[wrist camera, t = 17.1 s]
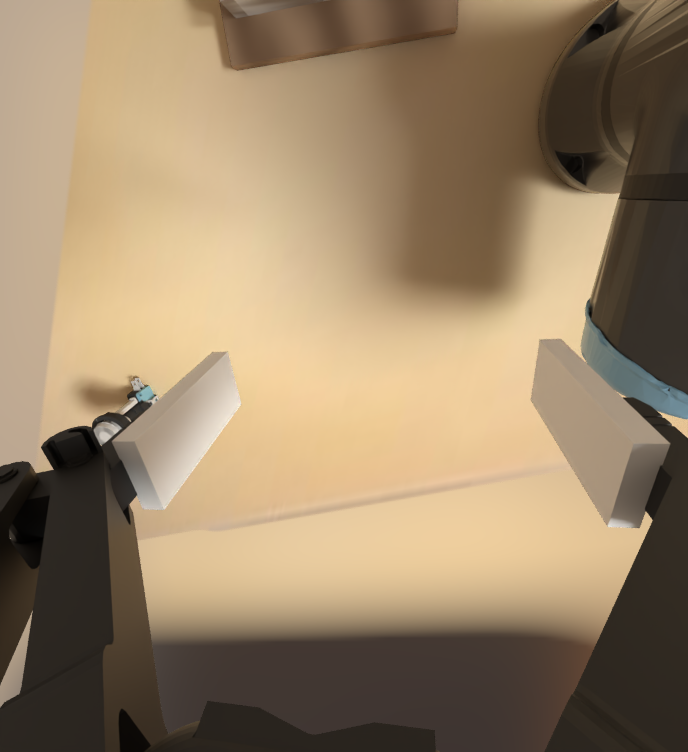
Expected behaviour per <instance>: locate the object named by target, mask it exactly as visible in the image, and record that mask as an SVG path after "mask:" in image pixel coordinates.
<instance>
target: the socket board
mask: <svg viewBox="0 0 688 752" xmlns="http://www.w3.org/2000/svg"><path fill="white" fill-rule="evenodd" d="M219 1H220V7H221V12H222V18H223V23H224V29H225V34H226V39H227V45H228V50H229V56H230V61H231V66H232V67H233V68H235V69H236V70H243V69H249V68H255V67H260V66H266V65H272V64H278V63H284V62H289V61H295V60H301V59H307V58H312V57H318V56H324V55H330V54H336V53H341V52H347V51H353V50H359V49H365V48H370V47H376V46H382V45H388V44H394V43H399V42H405V41H411V40H417V39H423V38H428V37H434V36H440V35H446V34H452V33H455V31H456V29H457V16H458V0H219Z"/></svg>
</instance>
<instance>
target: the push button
mask: <svg viewBox="0 0 688 752" xmlns="http://www.w3.org/2000/svg"><path fill="white" fill-rule="evenodd" d="M137 380H139V382H138V381H137ZM131 383H132V385H133V387H134V388H133V389H134V391H132V392H130V393H129V394H128V395H127V397H128V399H129V402H128V403H126V404H125V405H124V406H123V407H121V408H120V409H119V410H118V411H116V412H115V413H110V412H108V413H106V414H104V415H101V416H99V417H97V418H96V419H95V420H94V421H93V423H92V429H93V431H94V433H95V435H96V437H97V439H98V441H99V443H100V445H103V444H104V443H105V442H107V441H108V440H109V439H110V438H111V437H112V436H113V435H115V434H116V433H117V432H118V431H119V430H120V429H123V427H124V426H125V425H126V424H127V423H128V422H131V420H132V419H133V418H134V417H135V416H136V415H138V414H139V413H140V412H142V411H143V410H145V409H147V408H149V407H151V406H152V405H153V404H154V403H155V402H157V401H158V400H159V398H158V396H154V394H153V392H152V390H151V388H150V386H145V387H144V385H143V384H142V382H141V380H140V378H135V381H131ZM133 383H135V384H136V385H134V384H133ZM156 399H157V400H156ZM104 420H105V421H104Z"/></svg>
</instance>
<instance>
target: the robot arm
mask: <svg viewBox="0 0 688 752" xmlns="http://www.w3.org/2000/svg"><path fill="white" fill-rule="evenodd" d="M539 138H540V144H541V148H542V151H543V154H544V157H545V159H546V161H547V163H548V165H549V166H550V168H551V169H552V171H553V172H554V173H555V174H556V175H557V176H558V177H559V178H560V179H561V180H562V181H564V182H565V183H566V184H568V185H570V186H572V187H574V188H576V189H578V190H581V191H585V192H590V193H604V194H615V193H620V196H619V198H618V201H617V205H616V208H615V212H614V215H613V219H612V223H611V226H610V230H609V233H608V237H607V240H606V244H605V248H604V251H603V255H602V258H601V262H600V266H599V269H598V273H597V276H596V280H595V283H594V287H593V291H592V294H591V298H590V299H589V300H588V301H587V304H586V307H585V316H586V321H585V326H584V331H583V335H582V340H581V352H582V355H583V357H584V359H585V360H586V362H587V363H586V362H584V361H583V360H582V359H581V358H580V357H579V356H578V355H577V354H576V353H575V352H574V351H573V350H572V349H571V348H570V347H569V346H568V345H567V344H566V343H565V342H564V341H563V340H561V339H544V340H540V341H539V348H538V355H537V361H536V368H535V375H534V382H533V388H532V395H531V401H532V403H533V405H534V406H535V408H536V410H537V411H538V413H539V415H540V416H541V418H542V419H543V421H544V423H545V424H546V426H547V428H548V429H549V431H550V433H551V434H552V436H553V438H554V439H555V441H556V443H557V444H558V446H559V447H560V449H561V451H562V452H563V454H564V456H565V457H566V459H567V461H568V462H569V464H570V466H571V467H572V469H573V471H574V472H575V474H576V475H577V477H578V479H579V480H580V482H581V484H582V485H583V487H584V489H585V490H586V492H587V494H588V495H589V497H590V499H591V500H592V502H593V504H594V505H595V507H596V508H597V510H598V512H599V513H600V515H601V517H602V518H603V520H604V522H605V523H606V525H607V526H608V527H627V528H640V525H641V523H642V520H643V517H644V515H645V512H647V513H648V514H649V516H650V517H651V518H652V520H653V521H652V523H651V526H650V528H649V530H648V532H647V534H646V537H645V539H644V541H643V543H642V545H641V548H640V550H639V552H638V554H637V556H636V559H635V561H634V563H633V565H632V567H631V569H630V572H629V574H628V576H627V578H626V580H625V583H624V585H623V587H622V589H621V591H620V593H619V596H618V598H617V600H616V602H615V604H614V607H613V609H612V611H611V613H610V615H609V617H608V620H607V622H606V624H605V626H604V628H603V631H602V633H601V635H600V637H599V639H598V641H597V644H596V646H595V648H594V650H593V652H592V655H591V657H590V659H589V661H588V663H587V666H586V668H585V670H584V672H583V674H582V676H581V679H580V681H579V683H578V685H577V687H576V689H575V691H574V693H573V694H572V695H571V697H570V699H569V701H568V703H567V705H566V707H565V709H564V711H563V713H562V715H561V717H560V719H559V722H558V724H557V726H556V728H555V730H554V732H553V735H552V737H551V739H550V741H549V743H548V745H547V748H546V750H545V752H688V438H687V437H686V436H685V435H683V434H682V433H681V432H680V431H679V430H678V429H677V428H675V427H674V426H672V424H671V423H670V422H669V421H668V420H666V419H665V418H662V415H661V414H660V413H658V412H657V411H659V412H662V413H665V414H668V415H672V416H675V417H679V418H682V419H688V0H615V1H613V2H612V3H610V4H609V5H608V6H606V7H605V8H604V9H603V10H602V11H600V12H599V13H598V14H597V15H596V16H595V17H594V18H592V19H591V20H590V21H589V22H588V23H587V24H586V25H585V26H584V27H583V28H582V29H581V30H580V31H579V32H578V33H577V34H576V35H575V36H574V38H573V39H572V40H571V41H570V43H569V44H568V45H567V46H566V48H565V49H564V51H563V52H562V54H561V55H560V57H559V59H558V60H557V62H556V64H555V66H554V68H553V70H552V72H551V74H550V76H549V78H548V81H547V83H546V86H545V89H544V93H543V96H542V100H541V105H540V111H539ZM616 391H617V392H618V393H620V394H622V395H624V396H626V398H622V397H621V396H620V395H619V394H618V393H617V392H616ZM240 405H241V401H240V397H239V393H238V389H237V385H236V381H235V377H234V374H233V370H232V366H231V362H230V358H229V354H228V352H212V353H211V354H210V355H209V356H208V357H206V358H205V359H204V360H203V361H202V362H201V363H200V364H198V365H197V366H196V367H195V368H194V369H193V370H192V371H191V372H189V373H188V374H187V375H186V376H185V377H184V378H183V379H182V380H180V381H179V382H178V383H177V384H176V385H175V386H174V387H172V388H171V389H170V390H169V391H168V392H167V393H166V394H165V395H163V396H162V397H161V398H160V399H159V400H158V401H157V402H155V403H154V404H153V405H152V406H151V407H149V408H147V409H145V410H143V411H142V412H140V413H139V414H138V415H136V416H135V417H134V418H133V419H132V420H131V422H128V423H127V424H126V425H125V426H124V427H123V429H120V430H119V431H118V432H117V433H116V434H115V435H113V436H112V437H111V438H110V439H109V440H108V441H107V442H105V443H104V444H103V445H102V446H101V445H100V443H99V441H98V439H97V437H96V435H95V433H94V431H93V429H92V428H91V427H88V426H78V427H74V428H70V429H67V430H65V431H62V432H59V433H58V434H56V435H54V436H52V437H50V438H49V439H48V440H47V441H45V442H44V443H43V445H42V447H41V448H42V450H43V452H44V454H45V455H46V457H47V459H48V461H49V462H50V464H51V466H52V467H53V469H54V470H51V471H46V472H41V473H35V471H34V469H33V468H32V466H31V464H30V463H29V462H23V461H22V462H15V463H11V464H8V465H3V466H1V467H0V684H1V682H2V679H3V677H4V675H5V673H6V670H7V668H8V666H9V663H10V661H11V659H12V656H13V654H14V652H15V650H16V647H17V645H18V643H19V640H20V638H21V636H22V633H23V631H24V629H25V627H26V624H27V622H28V619H29V617H30V615H31V612H32V610H33V613H32V620H31V628H30V634H29V641H28V647H27V654H26V661H25V667H24V674H23V681H22V687H21V691H20V694H19V695H17V696H15V697H13V698H11V699H10V700H8V701H6V702H4V704H3V705H2V706H1V708H0V752H439V751H437V750H436V748H435V731H434V730H428V729H421V728H413V727H405V726H397V725H390V724H382V723H370V724H366V725H361V726H356V727H351V728H347V729H341V730H337V731H332V732H327V733H322V734H317V735H312V734H308V733H306V732H303V731H302V730H300V729H298V728H296V727H294V726H293V725H290V724H289V723H287V722H285V721H283V720H281V719H279V718H277V717H276V716H274V715H272V714H270V713H268V712H266V711H264V710H262V709H260V708H258V707H250V706H243V705H235V704H227V703H219V702H211V701H207V704H206V707H205V709H204V712H203V715H202V717H201V720H200V721H197V722H194V723H191V724H189V725H186V726H183V727H181V728H179V729H177V730H175V731H173V732H171V733H169V734H168V732H167V729H166V726H165V723H164V719H163V715H162V710H161V703H160V696H159V689H158V682H157V675H156V669H155V661H154V655H153V648H152V641H151V634H150V627H149V620H148V613H147V607H146V600H145V592H144V586H143V579H142V571H141V564H140V557H139V550H138V543H137V536H136V530H135V523H134V516H133V512H132V509H131V507H130V505H129V504H130V503H131V502H132V501H133V499H134V498H135V497H136V496H137V497H138V499H139V502H140V504H141V506H142V508H143V509H151V510H164V509H165V508H166V507H167V505H168V504H169V503H170V501H171V500H172V498H173V497H174V496H175V494H176V493H177V492H178V490H179V489H180V487H181V486H182V485H183V483H184V482H185V481H186V479H187V478H188V477H189V475H190V474H191V472H192V471H193V470H194V468H195V467H196V466H197V464H198V463H199V461H200V460H201V459H202V457H203V456H204V455H205V453H206V452H207V450H208V449H209V448H210V446H211V445H212V444H213V442H214V441H215V440H216V438H217V437H218V435H219V434H220V433H221V431H222V430H223V429H224V427H225V426H226V424H227V423H228V422H229V420H230V419H231V418H232V416H233V415H234V413H235V412H236V411H237V409H238V408H239V407H240ZM10 538H11V539H10Z"/></svg>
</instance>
